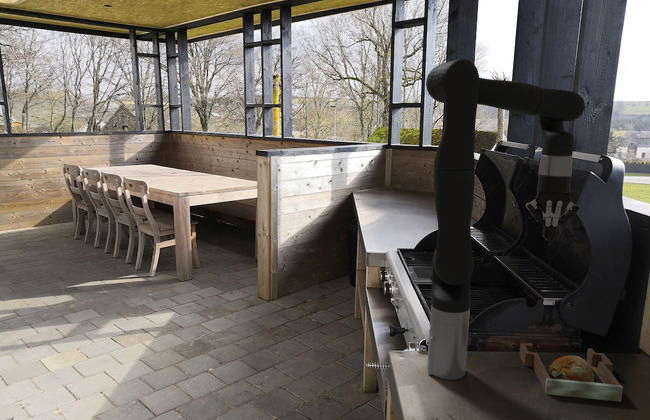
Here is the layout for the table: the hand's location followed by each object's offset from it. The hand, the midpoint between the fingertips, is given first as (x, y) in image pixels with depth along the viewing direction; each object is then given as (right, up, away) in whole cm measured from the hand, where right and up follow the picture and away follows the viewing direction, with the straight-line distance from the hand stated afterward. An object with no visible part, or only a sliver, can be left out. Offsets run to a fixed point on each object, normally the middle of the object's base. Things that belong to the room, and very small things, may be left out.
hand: (548, 239), depth 126 cm
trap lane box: (+3, -34, -6) cm, 34 cm away
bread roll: (+2, -34, -8) cm, 35 cm away
